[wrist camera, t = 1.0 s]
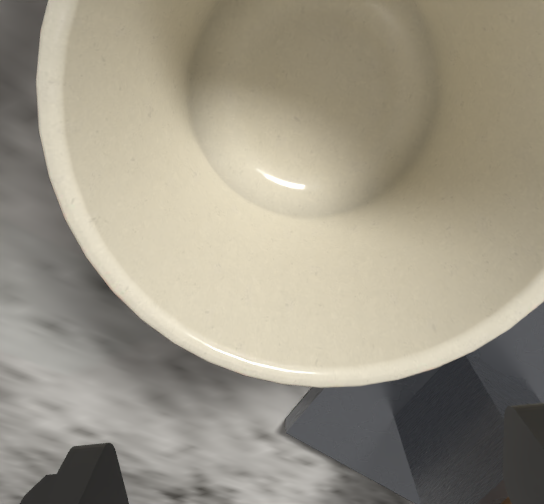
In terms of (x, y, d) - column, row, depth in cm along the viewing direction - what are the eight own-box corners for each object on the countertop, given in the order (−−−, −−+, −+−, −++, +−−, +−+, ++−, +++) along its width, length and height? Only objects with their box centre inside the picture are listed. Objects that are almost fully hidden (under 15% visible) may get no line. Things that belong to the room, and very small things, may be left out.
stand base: (445, 231, 33) (525, 320, 23) (638, 365, 37) (785, 497, 26) (285, 418, 39) (288, 561, 28) (466, 519, 43) (530, 678, 32)
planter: (488, -122, 26) (719, -297, 13) (470, 234, 33) (604, 370, 20) (113, -80, 27) (-53, -201, 13) (174, 259, 34) (106, 406, 21)
